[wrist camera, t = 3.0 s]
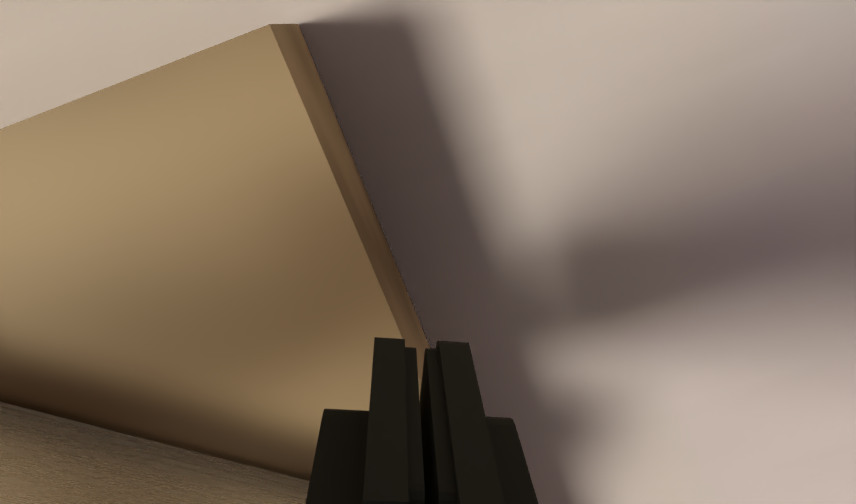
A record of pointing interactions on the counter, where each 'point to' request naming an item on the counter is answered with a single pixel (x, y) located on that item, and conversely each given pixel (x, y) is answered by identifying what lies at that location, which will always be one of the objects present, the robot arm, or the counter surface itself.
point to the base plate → (197, 258)
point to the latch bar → (121, 468)
